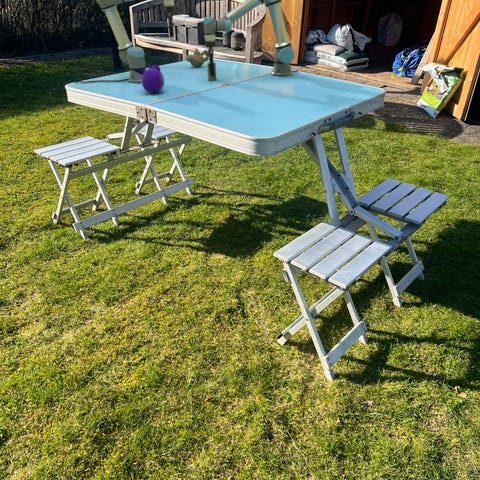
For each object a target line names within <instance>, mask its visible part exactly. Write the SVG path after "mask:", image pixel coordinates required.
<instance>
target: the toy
mask: <svg viewBox="0 0 480 480" xmlns="http://www.w3.org/2000/svg"><path fill="white" fill-rule="evenodd" d="M134 71H135V72H137V73H139V74H141V75H143V76H142V83H141V85H142V87H143V89H144V90H145V91H146V92H147V93H151V94H157V93H159V92H160V91H161V90H162V89H163V87H164V86H165V78H164V75H163V72H161V67H160V66H159V65H158V64H153V65H151V66H149V67H148V68H146V70H134Z"/></svg>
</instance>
